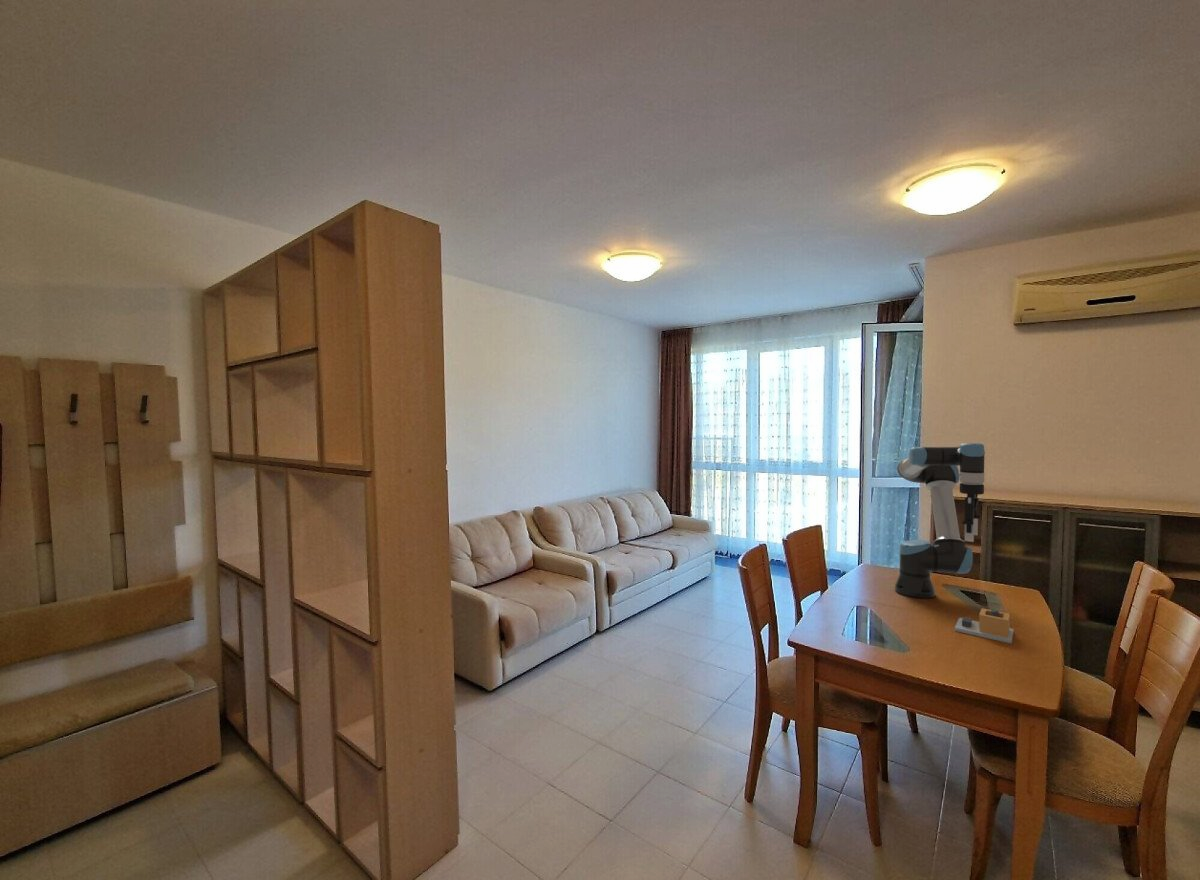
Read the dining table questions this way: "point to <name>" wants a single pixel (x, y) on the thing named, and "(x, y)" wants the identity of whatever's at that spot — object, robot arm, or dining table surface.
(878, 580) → the dining table surface
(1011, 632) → the keeper board
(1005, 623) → the link
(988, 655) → the dining table surface
